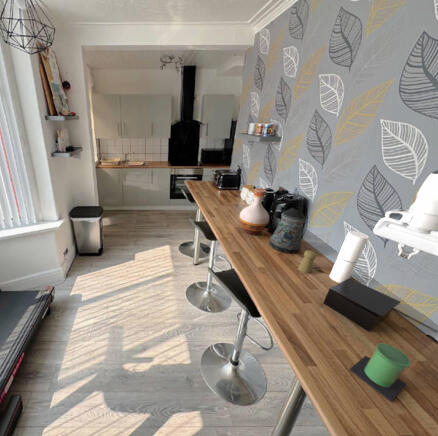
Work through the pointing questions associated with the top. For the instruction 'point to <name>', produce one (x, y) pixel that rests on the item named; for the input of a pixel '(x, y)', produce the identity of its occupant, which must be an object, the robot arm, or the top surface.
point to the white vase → (255, 214)
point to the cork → (307, 262)
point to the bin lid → (365, 297)
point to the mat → (386, 392)
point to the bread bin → (353, 311)
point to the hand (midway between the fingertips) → (404, 257)
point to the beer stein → (288, 231)
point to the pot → (386, 365)
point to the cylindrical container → (348, 256)
